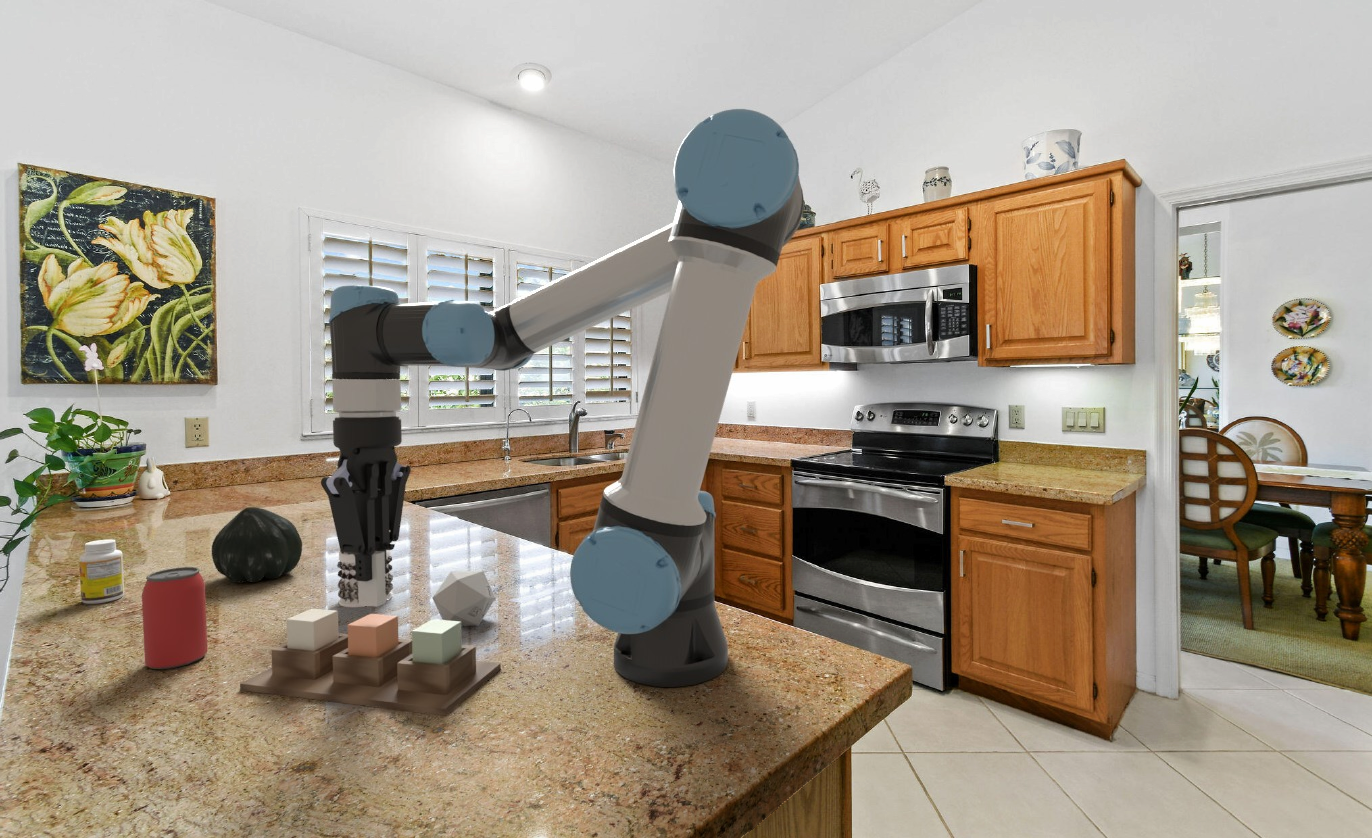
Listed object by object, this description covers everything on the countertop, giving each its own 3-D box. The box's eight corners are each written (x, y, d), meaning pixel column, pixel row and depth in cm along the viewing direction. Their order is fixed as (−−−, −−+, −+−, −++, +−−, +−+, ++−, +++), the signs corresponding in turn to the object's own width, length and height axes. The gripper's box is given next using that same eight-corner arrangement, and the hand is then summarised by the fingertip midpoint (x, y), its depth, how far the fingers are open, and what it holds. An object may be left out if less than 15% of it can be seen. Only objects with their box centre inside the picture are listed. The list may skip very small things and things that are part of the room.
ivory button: (338, 640, 82) (337, 610, 82) (314, 653, 79) (313, 621, 78) (313, 638, 83) (312, 608, 83) (287, 650, 79) (286, 619, 79)
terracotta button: (398, 646, 80) (397, 615, 80) (376, 659, 77) (375, 627, 76) (371, 644, 81) (370, 613, 81) (348, 656, 77) (347, 624, 77)
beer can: (138, 675, 80) (133, 582, 80) (153, 656, 86) (149, 569, 86) (202, 664, 83) (198, 575, 83) (212, 647, 89) (209, 563, 89)
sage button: (461, 653, 78) (461, 621, 78) (442, 666, 74) (441, 633, 74) (433, 650, 79) (432, 619, 79) (412, 663, 75) (411, 630, 75)
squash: (296, 534, 135) (241, 489, 126) (330, 547, 127) (273, 499, 118) (240, 590, 127) (177, 546, 119) (272, 608, 119) (207, 561, 110)
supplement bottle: (90, 597, 111) (87, 539, 111) (130, 593, 114) (127, 536, 113) (74, 607, 106) (71, 547, 106) (116, 602, 109) (113, 543, 108)
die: (459, 641, 93) (498, 583, 95) (412, 610, 94) (452, 553, 96) (476, 640, 100) (512, 587, 103) (433, 611, 102) (469, 559, 104)
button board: (500, 669, 82) (500, 638, 82) (445, 715, 70) (444, 680, 70) (318, 650, 88) (317, 621, 88) (240, 689, 76) (238, 657, 76)
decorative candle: (366, 610, 104) (361, 459, 103) (323, 605, 107) (318, 457, 106) (407, 593, 112) (403, 454, 111) (366, 588, 115) (362, 452, 114)
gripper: (378, 412, 85) (382, 585, 86) (298, 416, 72) (304, 619, 73) (427, 413, 83) (431, 589, 84) (354, 417, 70) (359, 625, 71)
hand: (372, 603), depth 79 cm, fingers closed
